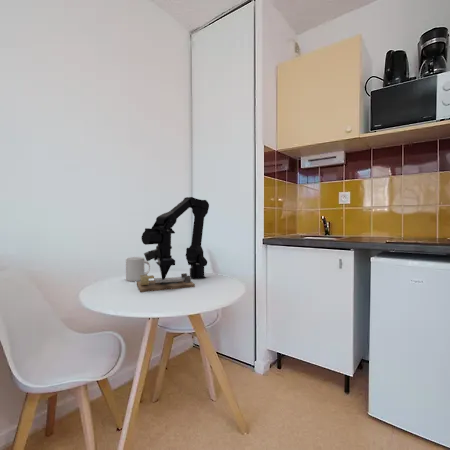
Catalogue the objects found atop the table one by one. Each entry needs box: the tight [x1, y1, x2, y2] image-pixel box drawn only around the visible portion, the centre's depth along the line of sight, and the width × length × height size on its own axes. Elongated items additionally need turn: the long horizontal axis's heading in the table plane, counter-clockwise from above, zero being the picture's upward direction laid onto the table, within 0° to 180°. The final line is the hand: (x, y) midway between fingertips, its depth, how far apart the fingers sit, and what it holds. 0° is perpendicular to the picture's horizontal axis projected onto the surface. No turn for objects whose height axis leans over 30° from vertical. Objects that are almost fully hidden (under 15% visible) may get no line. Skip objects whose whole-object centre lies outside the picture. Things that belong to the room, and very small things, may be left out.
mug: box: [125, 256, 151, 282], centre depth 137 cm, size 9×12×11 cm
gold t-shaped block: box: [140, 274, 155, 285], centre depth 121 cm, size 6×5×3 cm
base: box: [136, 272, 196, 293], centre depth 124 cm, size 23×15×4 cm, turn 113°
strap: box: [153, 276, 185, 283], centre depth 125 cm, size 14×4×1 cm, turn 113°
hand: (163, 278), depth 124 cm, fingers closed, pressing on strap
